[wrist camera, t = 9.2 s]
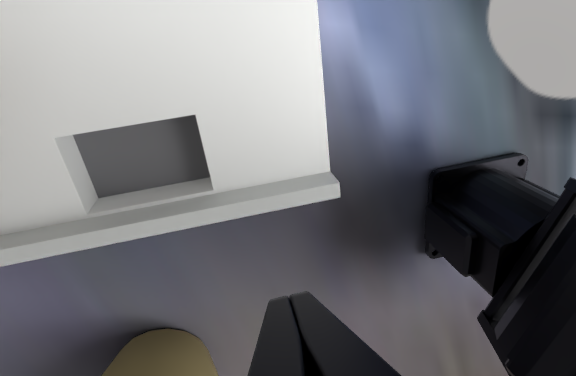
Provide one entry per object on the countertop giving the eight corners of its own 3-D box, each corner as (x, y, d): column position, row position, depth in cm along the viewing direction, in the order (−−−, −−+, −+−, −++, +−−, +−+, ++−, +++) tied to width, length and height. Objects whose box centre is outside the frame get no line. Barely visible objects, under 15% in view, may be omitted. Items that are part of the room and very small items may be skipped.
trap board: (286, -213, 13) (322, -335, 9) (321, 171, 20) (351, 211, 16) (-414, -173, 11) (-866, -319, 6) (-100, 252, 18) (-207, 328, 13)
